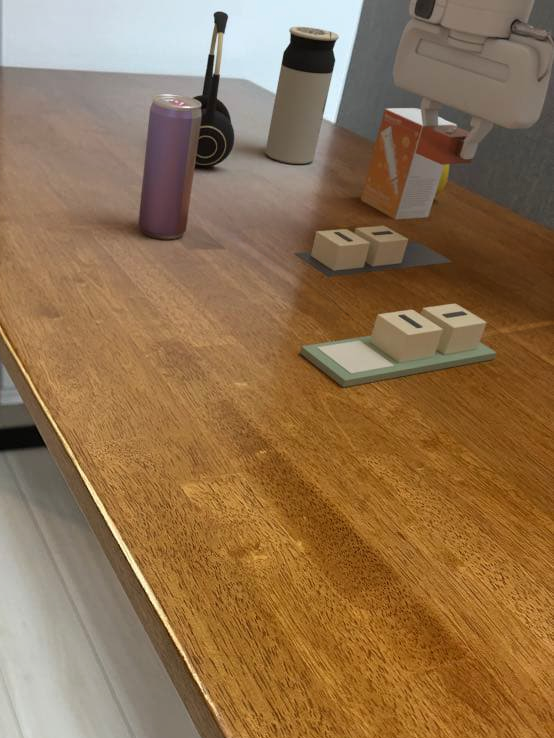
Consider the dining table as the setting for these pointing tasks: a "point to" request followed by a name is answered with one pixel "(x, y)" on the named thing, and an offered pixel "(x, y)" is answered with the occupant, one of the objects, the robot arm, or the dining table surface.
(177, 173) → the beverage can
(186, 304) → the dining table surface
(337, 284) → the dining table surface
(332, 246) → the board
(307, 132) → the travel mug
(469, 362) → the word board
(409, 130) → the small box
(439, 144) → the block
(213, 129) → the headphones
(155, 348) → the dining table surface
